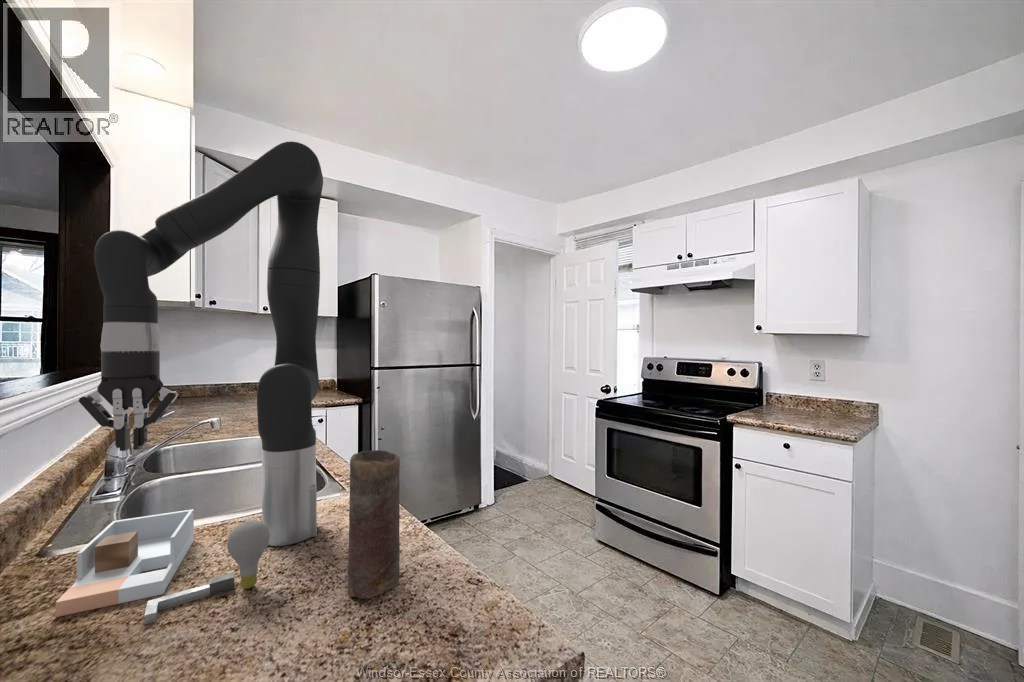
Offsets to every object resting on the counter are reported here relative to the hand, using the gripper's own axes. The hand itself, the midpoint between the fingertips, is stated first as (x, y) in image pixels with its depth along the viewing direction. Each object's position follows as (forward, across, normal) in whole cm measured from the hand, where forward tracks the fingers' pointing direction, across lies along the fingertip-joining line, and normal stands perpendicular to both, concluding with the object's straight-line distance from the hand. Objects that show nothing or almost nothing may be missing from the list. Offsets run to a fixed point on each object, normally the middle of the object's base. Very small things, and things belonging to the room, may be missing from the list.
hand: (131, 449), depth 72 cm
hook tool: (+19, -12, +20) cm, 30 cm away
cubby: (+19, -2, +6) cm, 20 cm away
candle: (+19, -36, +28) cm, 50 cm away
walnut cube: (+17, 0, +6) cm, 18 cm away
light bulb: (+19, -19, +20) cm, 33 cm away
